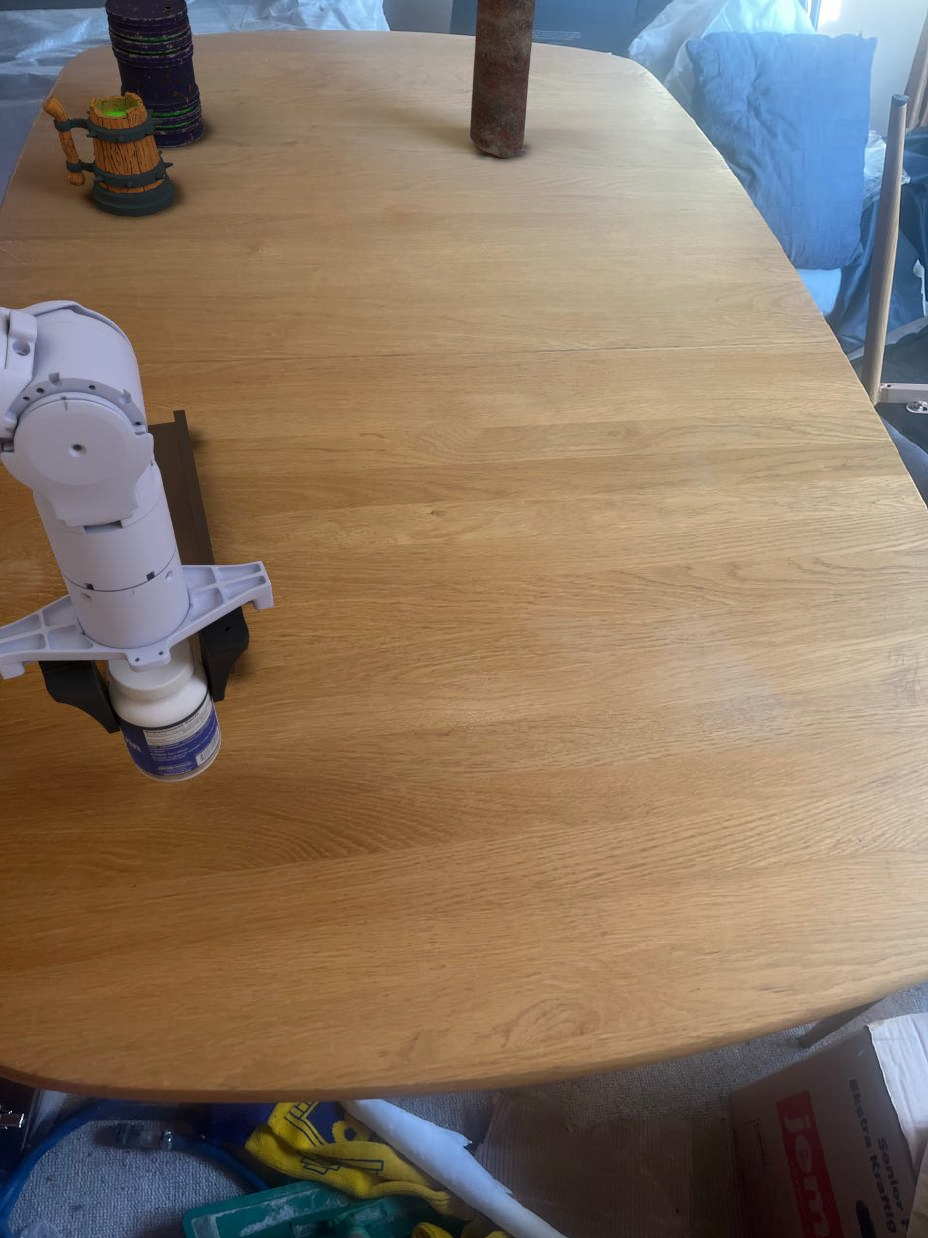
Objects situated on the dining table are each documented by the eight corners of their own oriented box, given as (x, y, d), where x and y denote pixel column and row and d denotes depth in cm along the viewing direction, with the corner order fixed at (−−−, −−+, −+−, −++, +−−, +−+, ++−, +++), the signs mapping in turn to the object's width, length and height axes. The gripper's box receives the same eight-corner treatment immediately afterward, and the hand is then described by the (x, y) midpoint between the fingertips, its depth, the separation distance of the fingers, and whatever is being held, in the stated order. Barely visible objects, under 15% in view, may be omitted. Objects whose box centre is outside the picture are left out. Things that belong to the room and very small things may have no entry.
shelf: (112, 697, 70) (102, 671, 68) (88, 450, 87) (79, 422, 84) (236, 672, 72) (231, 646, 70) (189, 436, 89) (184, 409, 87)
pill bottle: (123, 725, 63) (89, 629, 55) (210, 700, 65) (188, 604, 57) (141, 798, 60) (106, 707, 52) (232, 770, 61) (211, 678, 54)
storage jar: (114, 139, 125) (88, 11, 114) (147, 109, 131) (125, -16, 120) (187, 152, 124) (168, 24, 113) (216, 121, 130) (200, -4, 119)
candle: (459, 150, 130) (469, -20, 115) (479, 129, 134) (492, -37, 119) (511, 163, 128) (529, -7, 113) (530, 142, 133) (550, -24, 118)
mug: (176, 174, 120) (160, 75, 111) (180, 215, 114) (163, 114, 105) (67, 178, 118) (41, 78, 109) (64, 220, 112) (37, 117, 103)
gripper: (-29, 648, 44) (49, 797, 54) (281, 567, 48) (298, 719, 58) (-46, 543, 47) (30, 700, 58) (243, 477, 52) (265, 634, 62)
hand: (163, 704), depth 58 cm, fingers closed on pill bottle, 5 cm apart
